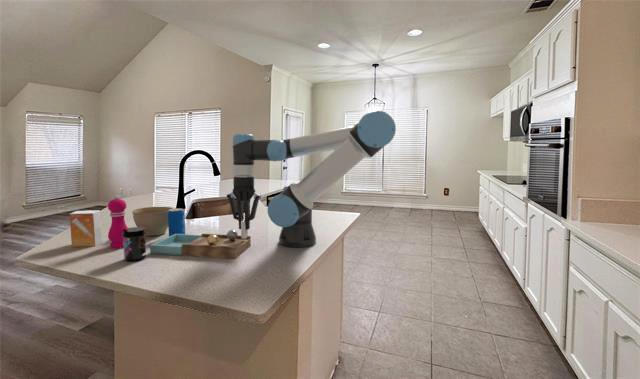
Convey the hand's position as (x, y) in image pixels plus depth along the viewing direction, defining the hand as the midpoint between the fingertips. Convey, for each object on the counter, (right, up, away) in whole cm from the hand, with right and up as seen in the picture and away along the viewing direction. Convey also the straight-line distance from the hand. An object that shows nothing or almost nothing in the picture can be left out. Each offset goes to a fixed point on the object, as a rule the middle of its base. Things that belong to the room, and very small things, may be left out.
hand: (244, 237), depth 125 cm
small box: (-62, -3, +3) cm, 62 cm away
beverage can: (-32, -2, +15) cm, 36 cm away
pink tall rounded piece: (-48, -4, +1) cm, 48 cm away
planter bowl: (-45, -1, +20) cm, 49 cm away
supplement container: (-35, -6, -12) cm, 37 cm away
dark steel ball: (-5, +1, +1) cm, 5 cm away
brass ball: (-10, 0, -7) cm, 12 cm away
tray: (-25, -4, 0) cm, 26 cm away
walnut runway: (-9, -4, -2) cm, 11 cm away
